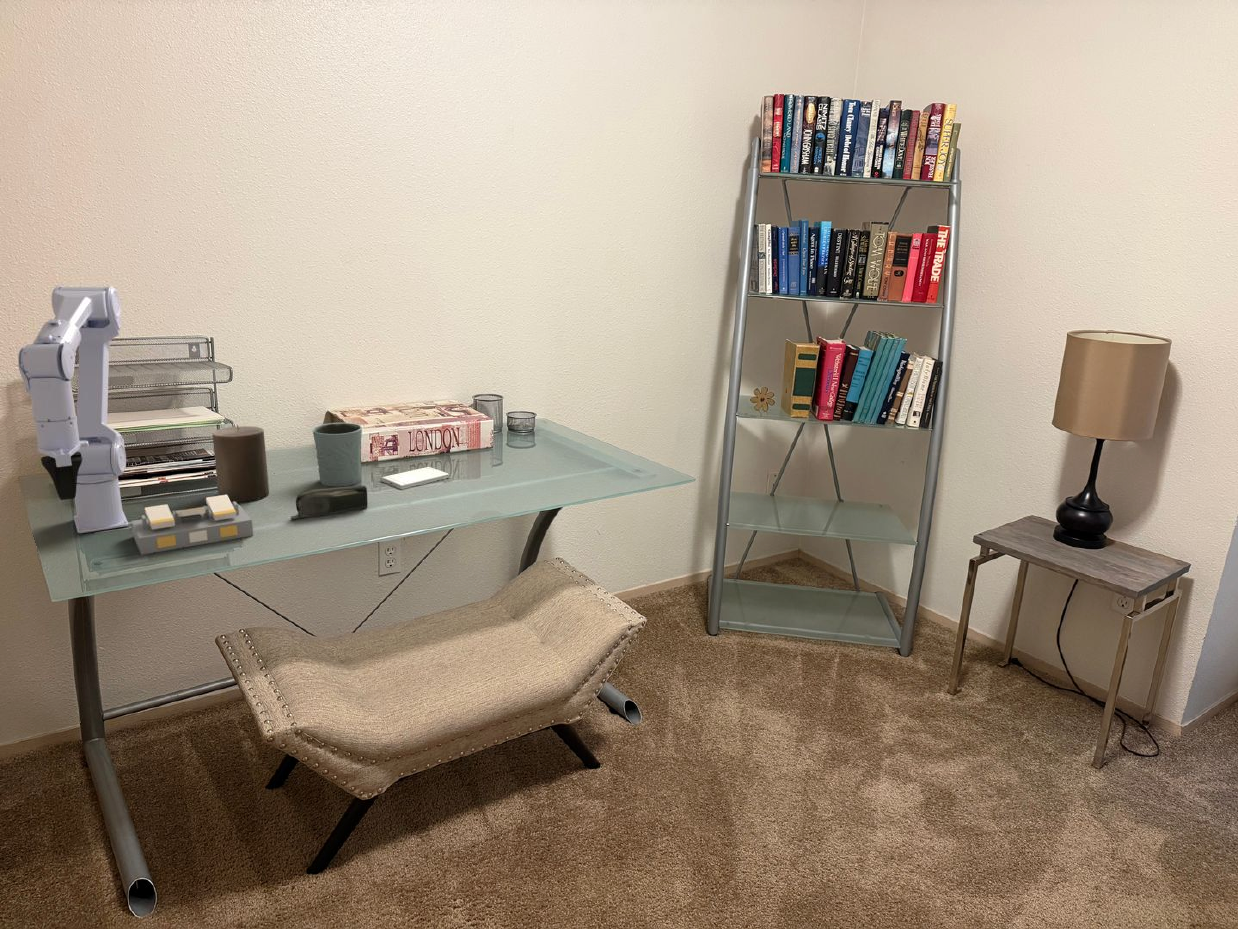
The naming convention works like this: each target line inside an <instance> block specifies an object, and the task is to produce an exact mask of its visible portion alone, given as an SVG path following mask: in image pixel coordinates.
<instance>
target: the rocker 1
mask: <svg viewBox="0 0 1238 929" xmlns="http://www.w3.org/2000/svg"><path fill="white" fill-rule="evenodd" d="M170 509H171V508H169V505H168V504H167V503H166V504H160V505H153V506H148V507H144V513H145V517H146V519H147V518H148V521H149V524H150V526H151V529H152V530H153V529H159V528H165V527H171V526H175V521H174V518H173V516H172V515H173V513H172V512H171V510H170Z"/></svg>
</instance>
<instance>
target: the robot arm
mask: <svg viewBox="0 0 1238 929" xmlns="http://www.w3.org/2000/svg"><path fill="white" fill-rule="evenodd" d="M51 306H52V311H53V313H54V315H55V316H54V319H53V318H52V319H49V320H47V321H46V322H45V323H44V324H43V325H42V327H41V329H40V330H39V332H38V334H37V336H36V337H35V339H34V340H33V342H32V343H30V344H29V343H27V344H26V345H25V346H24V347H21V348H20V349H19V352H18V354H17V355H18V356H17V363H18V365H17V366H18V371H19V373H20V375H21V378H22V380H23V383H24V387H25V388H24V389H25V390H26V392H27V393H29V394H30V401H31V407H32V413H33V421H34V427H35V432H36V439H37V447H36V448H37V452H38V453H40V454H42V455H45V456H42V457H41V458H40V461H41V465H42V467H44V469H45V470H46V471H47V472H48V474H49V476H50V478H51V479H52V481H53V484H54V488H55V491H56V493H57V496H58V497H59V500H61V501H65V500H71V499H74V504H75V510H76V515H74V516H73V519H74V520H73V521H74V524H75V528H76V530H77V533H78V534H84V533H85V534H86V533H92V532H97V531H103V530H104V531H105V530H110V529H111V530H112V529H116V528H122V527H123V528H124V527H128V526H129V522H128V520H127V517H126V515H125V512H124V511H123V505H122V498H121V490H120V484H119V476H122V474H123V473H124V472H125V470H126V466H127V454H126V449H125V439H124V438H123V436H122V434H121V433H120V432H118V431H117V430H116V429H114V428H112V427H111V426H109V425H108V408H109V407H108V406H109V405H108V401H109V400H108V398H109V370H110V368H109V367H110V365H109V363H110V361H109V360H110V359H109V358H110V356H109V355H110V348H111V341H112V340H113V339H114V338H117V337H118V336H119V335H120V334H121V328H122V305H121V298H120V295H119V292H118V290H117V289H116V288H114V287H113V286H112V285H110V286H109V285H108V286H62V285H57V286H56V287H54V289H53V290H52V292H51ZM78 348H79V349H78ZM77 350H78V371H77V372H78V373H77V374H78V376H77V380H78V381H77V402H76V408H75V401H74V395H73V387H72V386H73V385H72V378H74V375H75V363H76V356H75V354H76V352H77Z"/></svg>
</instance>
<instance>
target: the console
mask: <svg viewBox="0 0 1238 929" xmlns="http://www.w3.org/2000/svg"><path fill="white" fill-rule="evenodd" d="M232 505H233V507H234V509H235V511H236V517H235V518H229V519H222V520H216V521H215V520H214V518H213V516H212V513H211V511H210V509H209V507H208V505H203V506H202V507H205V513H202V514H196V515H189V516H178V512H177V511H178V510H172V516H173V518H174V521H175V526H171V527H165V528H159V529H153V530H152V529H151V526H150V524H149V521H148V518H147V516H146V514H142V515H141V519H135V520H134V519H133V520H131V527H132V528H131V529H132V536H133V539H134V541H135V544H136V546H137V549H138V551H139V553H140V555H147V554H154V552H155V553H160V552H165V551H171V550H177V548H178V549H183V547H184V548H190V547H194V546H201V545H205V544H207V545H208V544H210V543H218V542H223V541H228V540H235V539H241V538H242V539H243V538H247V537H252V536H254V531H253V529H254V528H253V520H252V518H251V517H250V516H249V514H247V512H246V511H245V510H244V509H243V508H242V506H241V505H240V504H238V502H236V501H235V502H232Z"/></svg>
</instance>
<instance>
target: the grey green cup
mask: <svg viewBox="0 0 1238 929" xmlns="http://www.w3.org/2000/svg"><path fill="white" fill-rule="evenodd" d="M362 433H363V427H362V426H361V425H360V424H357V423H353V422H330V423H324V424H319V425H317V426H315V427H313V429H312V434H313V439H314V444H315V450H316V459H317V465H318V476H319V481H320V484H321V485H324V486H327V487H349V486H353V485H356V484H358V483H360V482H361V480H362V465H361V462H362V438H363V437H362V435H363V434H362Z"/></svg>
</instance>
